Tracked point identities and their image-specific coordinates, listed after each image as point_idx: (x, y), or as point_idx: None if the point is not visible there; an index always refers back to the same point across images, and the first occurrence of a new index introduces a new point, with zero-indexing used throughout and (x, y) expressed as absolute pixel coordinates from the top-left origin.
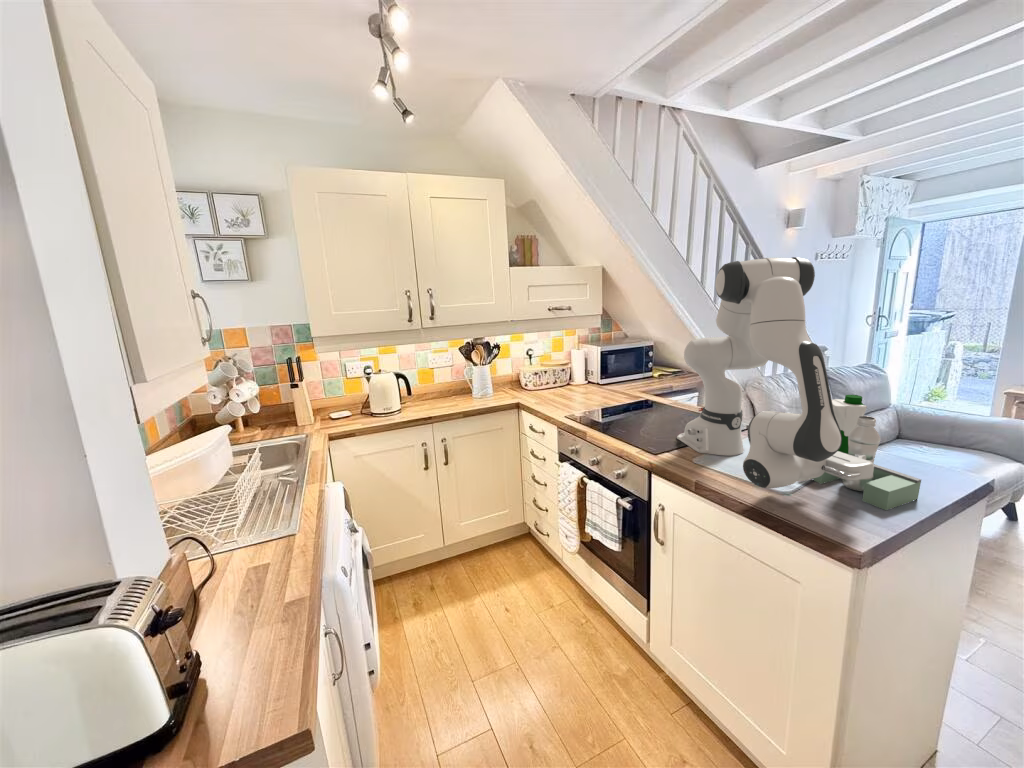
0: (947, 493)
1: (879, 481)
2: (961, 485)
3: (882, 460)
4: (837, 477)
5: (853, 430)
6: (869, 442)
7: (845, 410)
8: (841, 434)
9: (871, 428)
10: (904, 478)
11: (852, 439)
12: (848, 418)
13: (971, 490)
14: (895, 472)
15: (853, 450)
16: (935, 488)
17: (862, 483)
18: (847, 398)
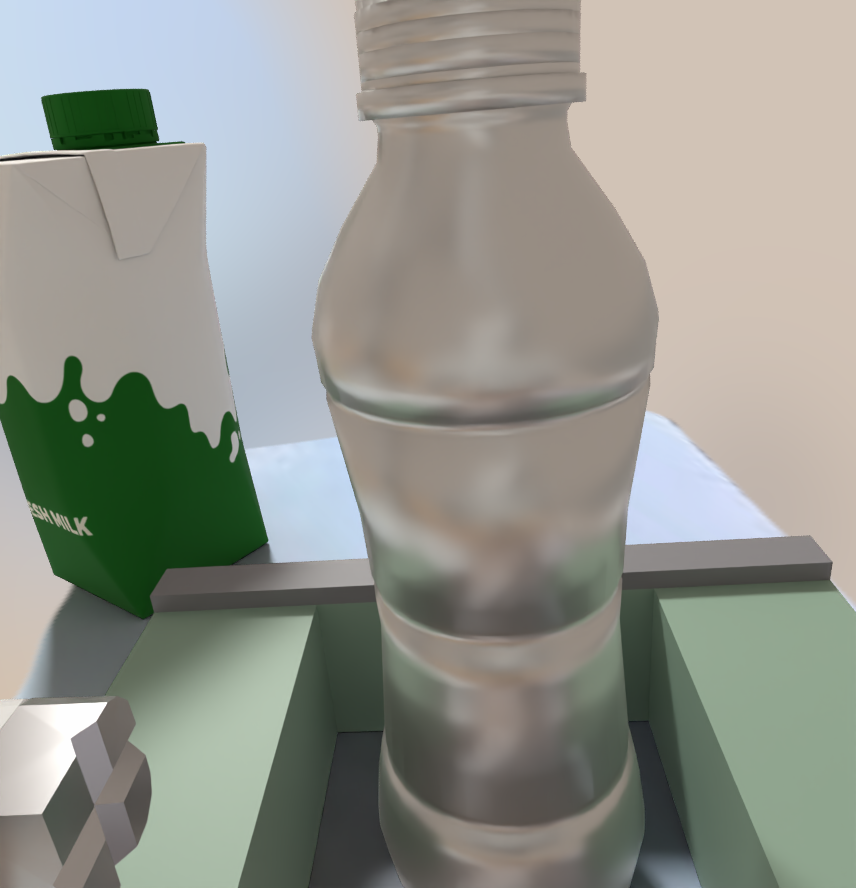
0: (723, 529)
1: (778, 771)
2: (658, 456)
3: (341, 474)
4: (313, 828)
5: (385, 246)
6: (640, 351)
7: (93, 195)
8: (141, 406)
9: (568, 139)
10: (740, 582)
11: (437, 393)
12: (137, 262)
13: (710, 463)
14: (659, 559)
15: (477, 550)
16: (661, 526)
17: (625, 861)
18: (64, 110)
